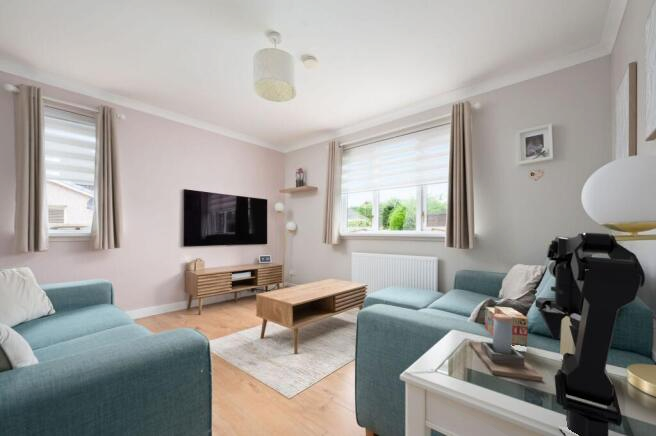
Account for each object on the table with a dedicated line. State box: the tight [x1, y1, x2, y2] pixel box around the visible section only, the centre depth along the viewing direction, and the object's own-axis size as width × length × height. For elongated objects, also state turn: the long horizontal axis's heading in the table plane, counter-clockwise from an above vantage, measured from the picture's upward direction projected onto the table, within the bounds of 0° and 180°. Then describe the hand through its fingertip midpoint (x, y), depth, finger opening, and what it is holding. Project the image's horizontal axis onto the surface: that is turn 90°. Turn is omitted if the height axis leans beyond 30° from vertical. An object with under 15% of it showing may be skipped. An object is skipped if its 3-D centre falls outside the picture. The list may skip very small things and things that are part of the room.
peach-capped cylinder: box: [492, 314, 512, 355], centre depth 88 cm, size 5×5×13 cm
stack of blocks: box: [484, 305, 529, 348], centre depth 106 cm, size 21×6×12 cm, turn 170°
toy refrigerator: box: [559, 316, 575, 355], centre depth 86 cm, size 8×7×21 cm
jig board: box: [468, 340, 543, 382], centre depth 88 cm, size 20×13×4 cm, turn 170°
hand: (567, 346), depth 70 cm, fingers open, 9 cm apart
